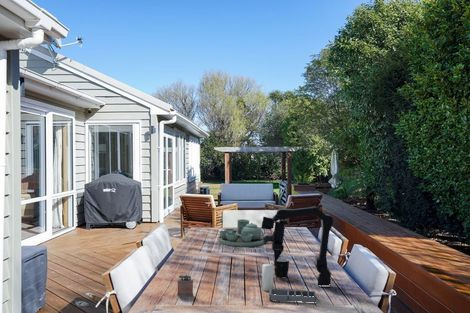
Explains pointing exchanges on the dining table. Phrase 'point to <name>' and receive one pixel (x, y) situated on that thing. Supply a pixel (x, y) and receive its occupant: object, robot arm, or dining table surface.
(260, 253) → the dining table surface
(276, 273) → the mug
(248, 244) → the tea set
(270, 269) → the white smooth rounded part
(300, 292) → the dish rack
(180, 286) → the lighter
